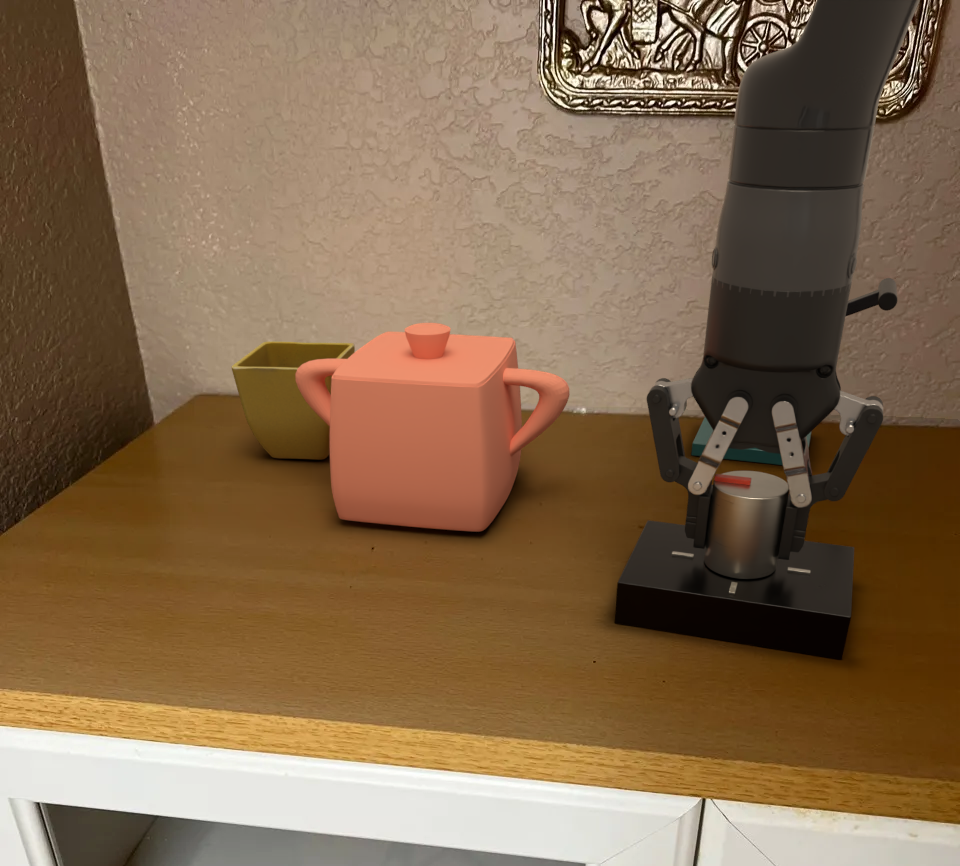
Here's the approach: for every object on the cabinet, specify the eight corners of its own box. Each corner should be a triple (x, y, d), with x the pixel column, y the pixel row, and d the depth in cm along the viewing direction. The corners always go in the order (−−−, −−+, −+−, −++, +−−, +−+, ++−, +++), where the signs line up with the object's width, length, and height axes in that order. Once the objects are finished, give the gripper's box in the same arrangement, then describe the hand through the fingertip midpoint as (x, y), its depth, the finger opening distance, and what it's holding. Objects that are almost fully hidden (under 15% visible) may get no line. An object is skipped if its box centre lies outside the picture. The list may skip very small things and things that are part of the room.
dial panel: (846, 586, 67) (854, 544, 66) (841, 659, 59) (851, 614, 58) (644, 557, 71) (647, 517, 70) (614, 623, 63) (617, 579, 62)
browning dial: (779, 553, 65) (792, 470, 62) (773, 584, 61) (787, 497, 58) (709, 543, 66) (719, 462, 63) (698, 573, 62) (709, 488, 59)
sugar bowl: (549, 548, 73) (556, 360, 66) (273, 522, 77) (250, 343, 70) (584, 455, 89) (593, 297, 82) (355, 438, 94) (344, 286, 86)
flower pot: (242, 466, 88) (228, 365, 83) (275, 433, 95) (263, 339, 90) (337, 471, 86) (328, 369, 82) (363, 437, 94) (356, 342, 89)
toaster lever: (899, 297, 83) (892, 269, 83) (901, 312, 79) (893, 283, 78) (759, 347, 89) (751, 322, 88) (752, 364, 84) (743, 338, 83)
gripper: (917, 266, 55) (859, 540, 64) (665, 253, 59) (642, 512, 68) (922, 293, 49) (857, 592, 58) (640, 276, 53) (619, 558, 62)
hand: (741, 547), depth 63 cm, fingers closed on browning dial, 4 cm apart
